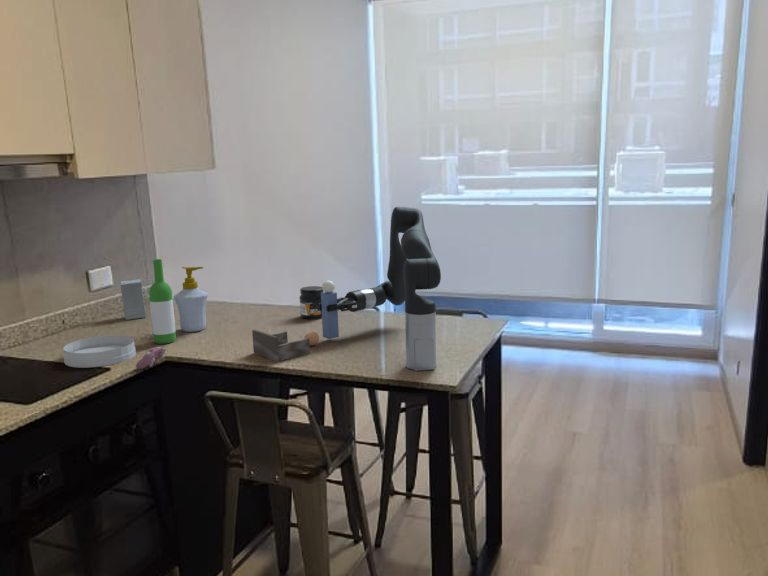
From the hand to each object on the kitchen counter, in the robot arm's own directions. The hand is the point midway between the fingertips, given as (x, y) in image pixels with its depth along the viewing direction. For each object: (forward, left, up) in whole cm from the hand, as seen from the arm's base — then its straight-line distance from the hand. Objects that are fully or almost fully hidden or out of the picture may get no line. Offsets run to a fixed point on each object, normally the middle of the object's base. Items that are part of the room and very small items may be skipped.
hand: (323, 308), depth 223 cm
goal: (-9, +15, -12) cm, 21 cm away
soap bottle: (+33, +47, -13) cm, 59 cm away
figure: (+1, -2, -11) cm, 11 cm away
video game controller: (-10, +57, -13) cm, 59 cm away
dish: (+4, +75, -13) cm, 76 cm away
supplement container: (+40, 0, -13) cm, 42 cm away
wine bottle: (+18, +56, -13) cm, 60 cm away
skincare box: (+62, +73, -13) cm, 97 cm away
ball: (-3, +5, -12) cm, 14 cm away
